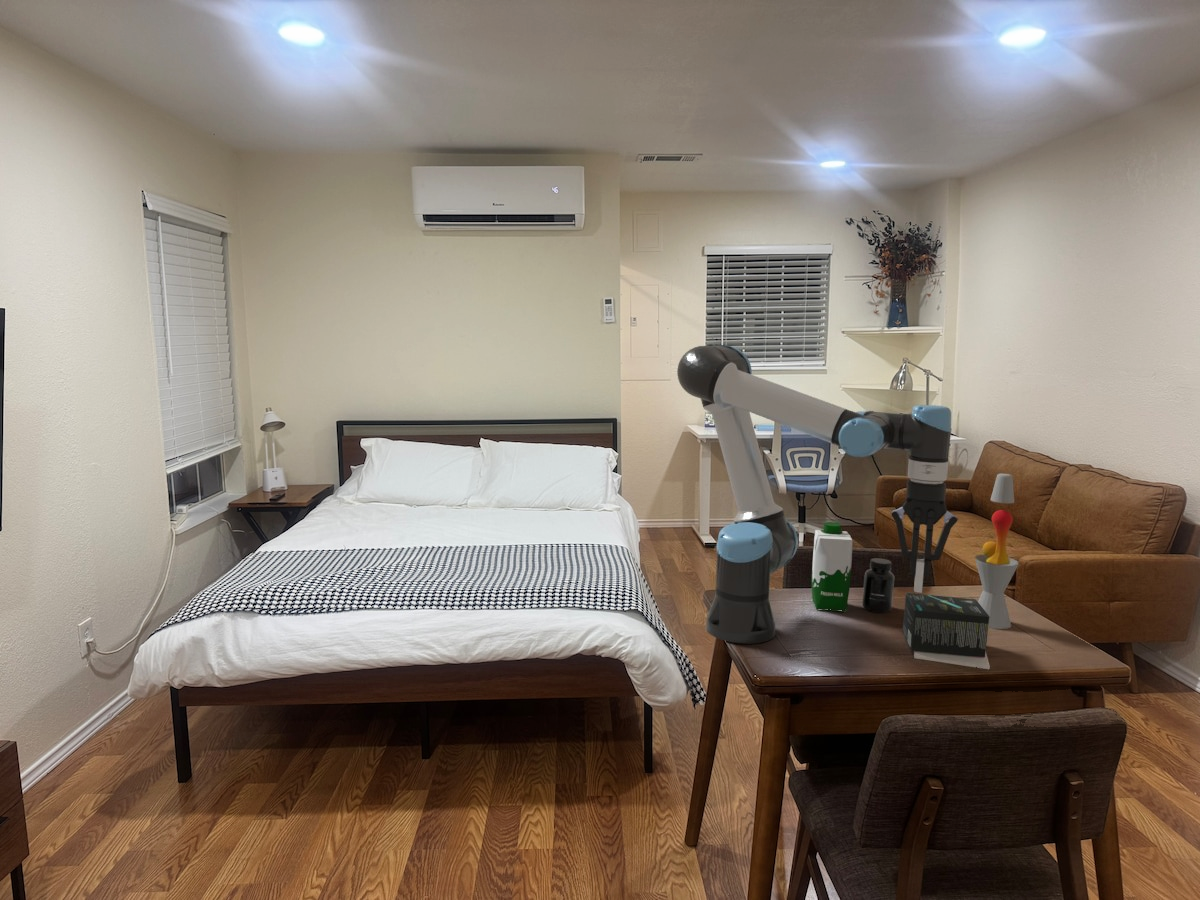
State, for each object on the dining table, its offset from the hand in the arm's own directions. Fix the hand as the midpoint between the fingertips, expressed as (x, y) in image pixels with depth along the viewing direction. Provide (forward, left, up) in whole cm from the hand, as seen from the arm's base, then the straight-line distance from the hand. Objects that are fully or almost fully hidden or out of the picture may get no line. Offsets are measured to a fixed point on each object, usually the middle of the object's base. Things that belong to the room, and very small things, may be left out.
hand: (917, 590), depth 166 cm
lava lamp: (+17, +23, -13) cm, 31 cm away
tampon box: (-2, +1, -7) cm, 7 cm away
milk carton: (-19, +19, -13) cm, 30 cm away
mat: (+7, 0, -13) cm, 14 cm away
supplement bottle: (-8, +22, -13) cm, 27 cm away
